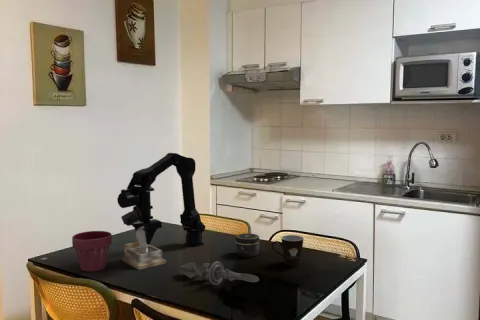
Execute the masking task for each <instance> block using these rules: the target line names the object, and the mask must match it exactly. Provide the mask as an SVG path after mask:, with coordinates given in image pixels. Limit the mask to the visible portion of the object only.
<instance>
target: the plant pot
mask: <svg viewBox="0 0 480 320" xmlns="http://www.w3.org/2000/svg"><path fill="white" fill-rule="evenodd" d="M112 236H113V235H112V233H111V232H109V231H104V230H92V231H91V230H89V231H83V232H79V233H76V234H74V235H73V236H72V238H71V240H72V241H71V244H72V248H73V249H75V252H76V253H75V255H76V256H77V260H78V264H79V268H80V270H81V271H83V272H98V271H102V270H103V269H105V268H106V266H107V261H108V260H107V259H108V256H109V250H110V245H111V244H112V243H113V237H112Z"/></svg>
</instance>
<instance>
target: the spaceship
mask: <svg viewBox="0 0 480 320" xmlns="http://www.w3.org/2000/svg"><path fill="white" fill-rule="evenodd" d="M208 266H209V267H208ZM224 268H225V267H224V265H223V264H222V262H220V261H214V262H213V263H212V264H211V263H206V262H204V263H197V264H196V263H195V262H194V261H191V262H188V263H184V264H182V265H180V271H179V272H180V273H182V274H183V275H185V276H186V277H187V278H189V279H192V278H194V277H195V276H198V277H197V278H196V279H195V280H196V281H202V282H203V281H204V280H206V281H207V280H208V281H210V284H212V285H213V286H218V285H220V284H221V283H222V281H223V280H226V279H227V280H228V281H229V282H233V281H234V280H240V281H245V282H249V283H257V282H259V281H260V278H259V277H258V276H256V275H254V274H251V273H239V272H235V271H232V270H230V269H228V268H226V269H224Z"/></svg>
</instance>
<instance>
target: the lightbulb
mask: <svg viewBox="0 0 480 320" xmlns="http://www.w3.org/2000/svg"><path fill="white" fill-rule="evenodd" d="M141 228H144V227H143V226H142V227H140V228H139V229H138V230H137V231H136V230H135V238H136V240H137V242H139V243H140V246H141V253H142V254H144V253H148V245H147V243H146V237H145V232H144V231H143V230H142V229H141Z"/></svg>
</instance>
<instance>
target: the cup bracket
mask: <svg viewBox="0 0 480 320" xmlns="http://www.w3.org/2000/svg"><path fill="white" fill-rule="evenodd" d="M123 253H124V254H123V256H124V257H122V258H121V261H122V262H123V263H125V264H127V265H129V266H131V267H133V268H135V269H137V270H138V271H140V270H144V269H147V268H151V267H152V268H153V267H156V266H161V265H164V264H167V260H166V259H165V258H163V250H162V249H160V248H158V247H156V246H153V245H151V244H149V245H148V253H144V254H142V253H141V246H140V243H139V241H135V242H130V243H125V244H123Z"/></svg>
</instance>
